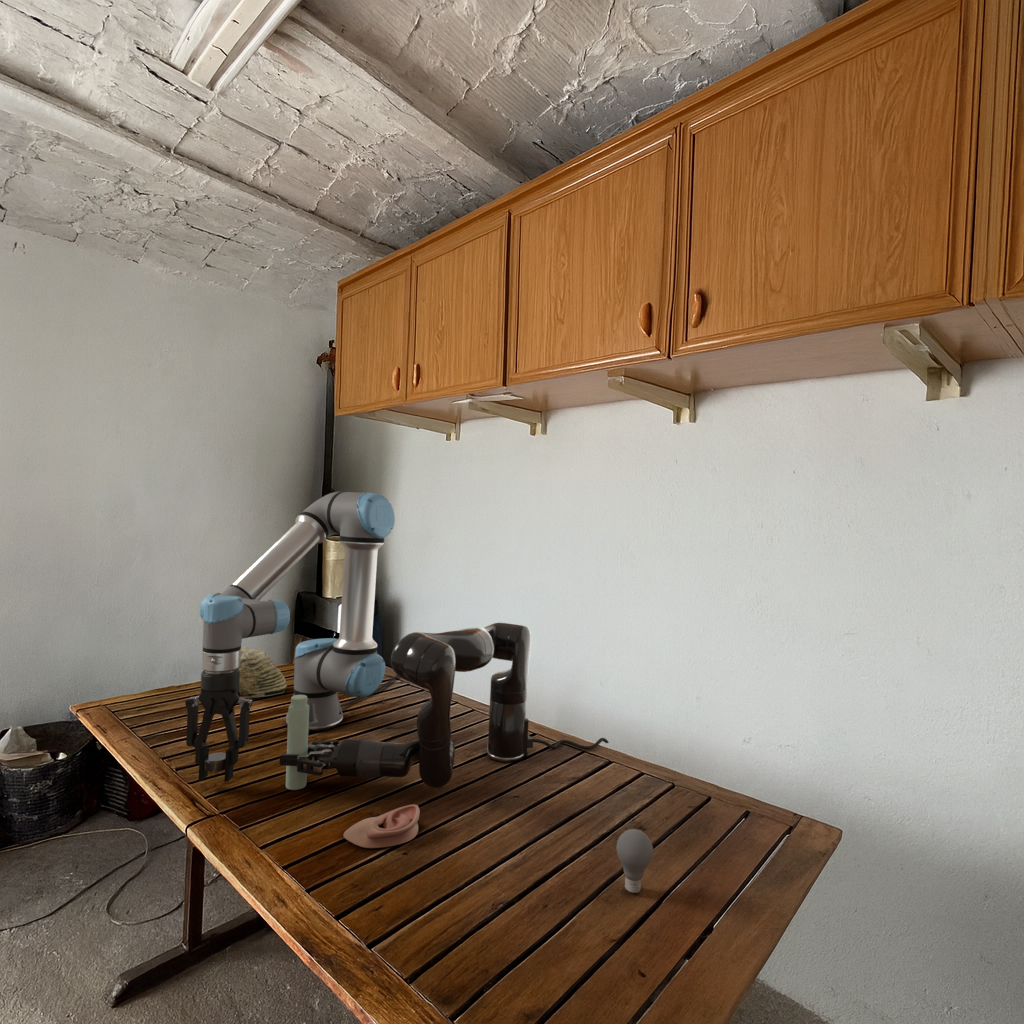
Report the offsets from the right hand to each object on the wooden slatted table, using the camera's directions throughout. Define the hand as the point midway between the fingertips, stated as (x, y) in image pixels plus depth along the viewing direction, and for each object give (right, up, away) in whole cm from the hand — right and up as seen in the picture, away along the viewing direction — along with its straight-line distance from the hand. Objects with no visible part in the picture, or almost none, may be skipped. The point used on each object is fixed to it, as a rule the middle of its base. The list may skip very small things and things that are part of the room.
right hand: (284, 755), depth 138 cm
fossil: (-31, -4, +60) cm, 67 cm away
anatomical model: (+25, -8, -18) cm, 32 cm away
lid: (-13, +1, -3) cm, 14 cm away
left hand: (-13, -4, -3) cm, 14 cm away
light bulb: (+70, -10, -33) cm, 78 cm away
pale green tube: (+2, -7, 0) cm, 7 cm away
